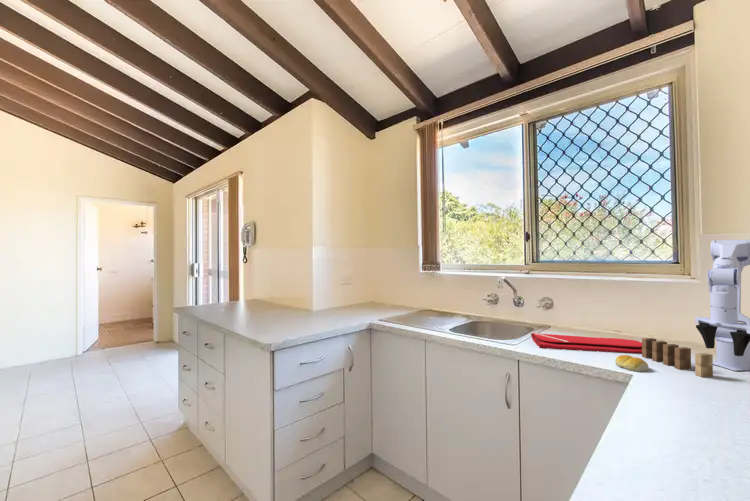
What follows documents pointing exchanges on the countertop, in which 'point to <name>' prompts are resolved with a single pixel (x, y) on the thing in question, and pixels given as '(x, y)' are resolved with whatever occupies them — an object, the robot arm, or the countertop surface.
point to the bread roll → (631, 363)
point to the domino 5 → (704, 365)
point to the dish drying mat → (587, 343)
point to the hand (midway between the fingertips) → (723, 351)
